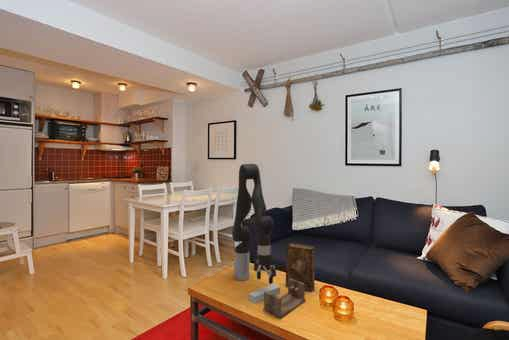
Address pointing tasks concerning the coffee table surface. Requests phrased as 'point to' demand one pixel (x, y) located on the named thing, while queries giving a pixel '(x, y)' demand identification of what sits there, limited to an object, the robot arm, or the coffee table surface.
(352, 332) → the coffee table surface
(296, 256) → the book
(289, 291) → the shelf frame
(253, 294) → the grey rectangular bar
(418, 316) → the coffee table surface
